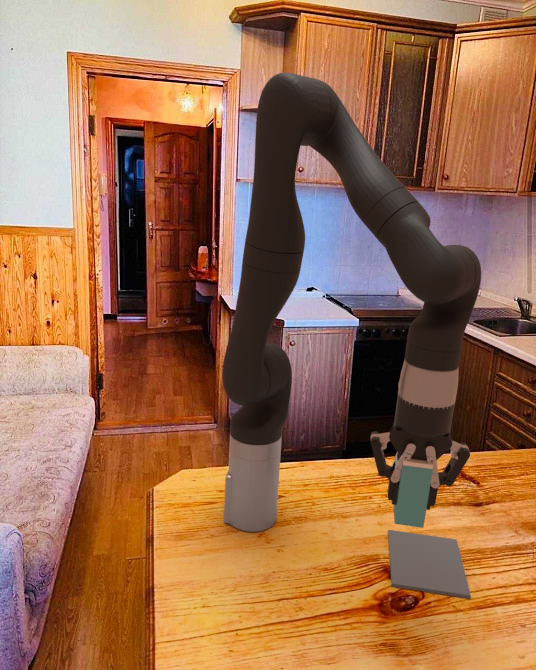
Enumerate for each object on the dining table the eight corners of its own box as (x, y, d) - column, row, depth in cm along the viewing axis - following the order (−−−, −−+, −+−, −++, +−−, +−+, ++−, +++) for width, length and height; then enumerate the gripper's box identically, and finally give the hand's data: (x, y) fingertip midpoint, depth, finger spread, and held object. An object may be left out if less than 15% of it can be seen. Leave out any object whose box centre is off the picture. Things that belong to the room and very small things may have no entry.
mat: (391, 586, 89) (391, 583, 89) (387, 532, 103) (388, 529, 102) (470, 598, 88) (470, 595, 87) (456, 542, 101) (456, 539, 101)
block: (394, 523, 80) (403, 461, 77) (393, 507, 84) (401, 447, 81) (423, 528, 80) (433, 465, 77) (420, 511, 84) (430, 451, 81)
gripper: (373, 398, 74) (360, 511, 79) (486, 411, 72) (465, 527, 77) (373, 378, 81) (360, 483, 86) (476, 389, 79) (457, 497, 84)
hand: (410, 503), depth 81 cm, fingers closed on block, 4 cm apart
